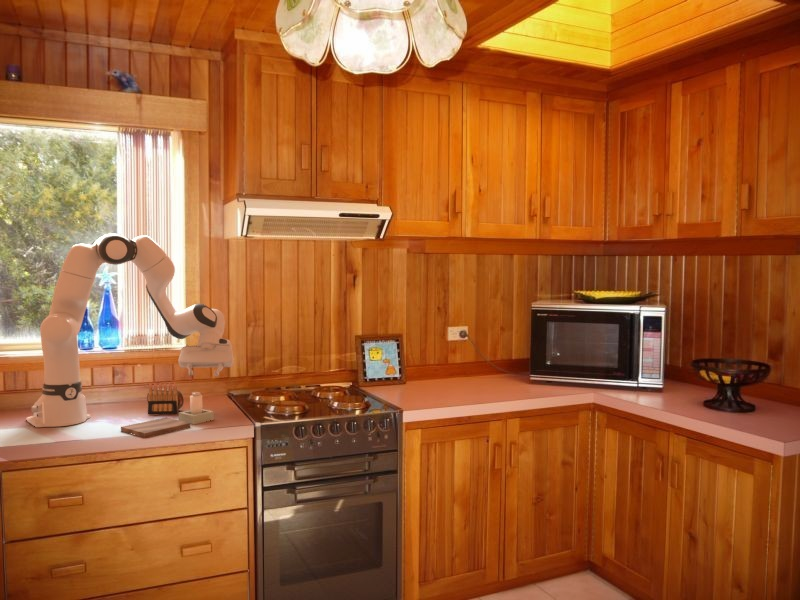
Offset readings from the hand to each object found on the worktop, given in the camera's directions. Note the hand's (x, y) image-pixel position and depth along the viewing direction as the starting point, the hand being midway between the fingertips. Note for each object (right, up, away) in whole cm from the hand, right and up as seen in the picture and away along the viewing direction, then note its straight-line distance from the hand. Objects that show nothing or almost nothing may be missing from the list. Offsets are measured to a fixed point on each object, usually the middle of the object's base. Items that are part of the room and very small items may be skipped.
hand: (203, 375), depth 241 cm
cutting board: (-9, -16, -23) cm, 29 cm away
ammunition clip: (-15, -15, +1) cm, 21 cm away
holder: (+1, -15, -10) cm, 18 cm away
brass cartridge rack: (-17, -15, +7) cm, 23 cm away
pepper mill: (+1, -15, -10) cm, 18 cm away
